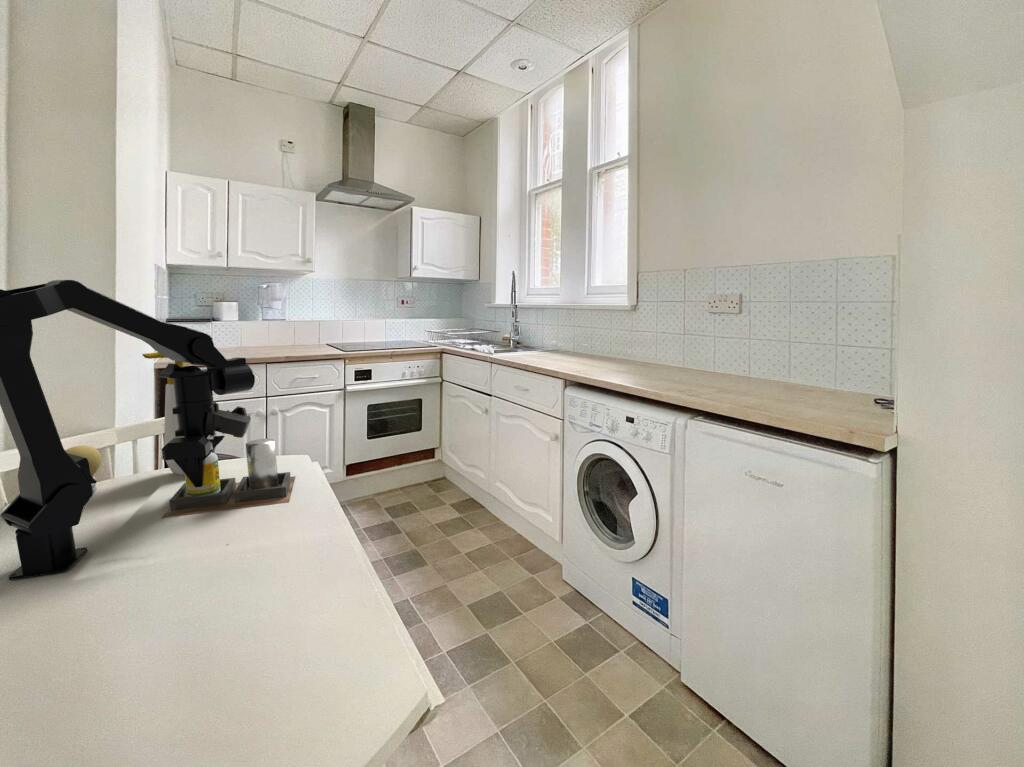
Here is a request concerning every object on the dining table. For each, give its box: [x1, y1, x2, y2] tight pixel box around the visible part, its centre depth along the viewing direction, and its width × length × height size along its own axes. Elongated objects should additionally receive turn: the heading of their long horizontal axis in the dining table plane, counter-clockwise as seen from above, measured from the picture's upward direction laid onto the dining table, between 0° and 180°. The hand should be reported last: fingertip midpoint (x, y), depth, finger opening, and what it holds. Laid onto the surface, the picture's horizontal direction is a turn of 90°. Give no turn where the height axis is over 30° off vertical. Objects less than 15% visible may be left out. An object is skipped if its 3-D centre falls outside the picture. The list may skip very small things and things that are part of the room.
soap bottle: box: [141, 351, 185, 476], centre depth 101 cm, size 13×10×29 cm
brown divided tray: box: [160, 471, 296, 519], centre depth 90 cm, size 14×20×4 cm
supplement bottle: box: [184, 443, 221, 497], centre depth 87 cm, size 5×5×10 cm
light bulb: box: [64, 445, 103, 494], centre depth 93 cm, size 6×6×10 cm
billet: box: [245, 438, 279, 490], centre depth 91 cm, size 5×5×10 cm
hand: (203, 481), depth 88 cm, fingers closed on supplement bottle, 5 cm apart
